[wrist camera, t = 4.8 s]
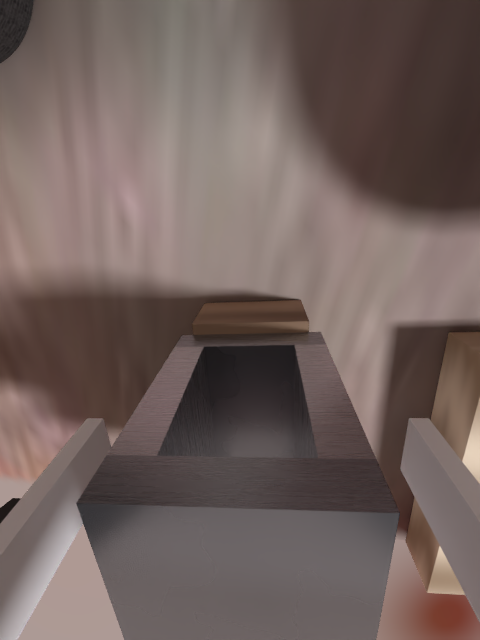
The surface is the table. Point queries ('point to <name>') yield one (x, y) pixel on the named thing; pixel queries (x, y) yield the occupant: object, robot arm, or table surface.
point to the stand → (251, 318)
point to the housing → (243, 499)
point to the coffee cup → (13, 24)
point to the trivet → (464, 438)
